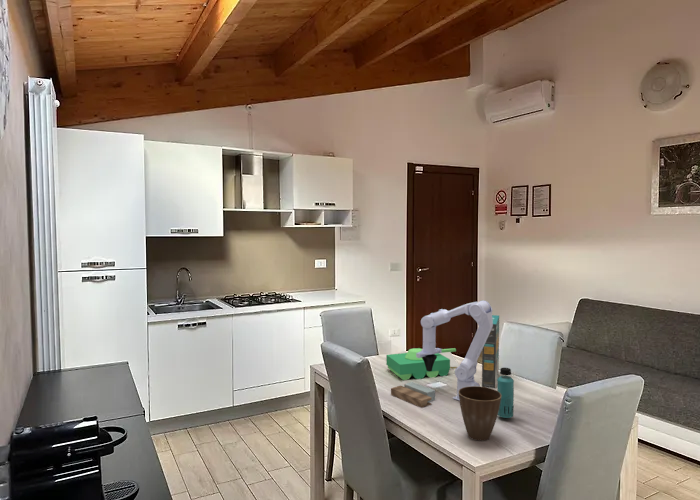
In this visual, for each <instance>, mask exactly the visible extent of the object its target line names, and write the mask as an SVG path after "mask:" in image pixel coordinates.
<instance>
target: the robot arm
mask: <svg viewBox="0 0 700 500" xmlns="http://www.w3.org/2000/svg"><path fill="white" fill-rule="evenodd" d="M493 311H494V310H493V308H492V306H491V304H490V303H489V301H487V300H483V299H482V300H479V301H473V302H469V303H466V304H465V303H464V304H462V305H460V306H457V307H454V308H452V309H450V310H447V309H445V308H444V309H443V308H441V309H438V311H435V312H431V313H430V314H428V315H424V316H423V317H422V318H420V319H421V320H420V325H421V327H422V348H421V349H422V351H420V352H418V353H416V357H417V358H421V357H422V359H423V361H424V363H425V366H426V370H427V371H429V372H430V371H432V368H433V364H434V362H435V360H436V358H437V356H436V355H435V354H437V353H442V349H443V348H439V347H436V345H437V343H436V341H437V340H436V339H437V338H436V336H437V333H436V330H437V327H438V326H440V325H443V324H445V323H448V322H450V321H451V318H454V317H456V316H460V315H464V314H465V315H467V316H470V317H472V318H473V319H474V321H475V322H476V323H477V325H478V327H477V329H476V332H475V334H474V337H473V338H472V341H471V343H470V346H469V348H468V350H467V352H466V355H465V357H464V358H463V359H462V361H461V362H460V363H459V365H460V366H458V367H457V368H454V375H455V378H456V380H457V381H456V385H457V386H456V395H455V396H452V399H453V400H456V401H459V402H460V400H459V390H460V389H461V388H464V387H470V386H479V387H481V386H480V383H479V382H477V381H476V380H475V375H476V373H477V366H478V364H479V363H478V359H479V357H480V355H481V354H482V349H483V347H484V344H485V342H486V340H487V338H488V336H489V334H490V331H491V329H492V327H493V321H492V315H493Z"/></svg>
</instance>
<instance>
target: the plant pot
mask: <svg viewBox="0 0 700 500" xmlns="http://www.w3.org/2000/svg"><path fill="white" fill-rule="evenodd" d="M459 400H460V401H459ZM459 400H458V401H459V406H460V411H461V417H462V420H463V423H464V426H465V430H466V433H467V435H468V437H469V438H470V439H472V440H474V441H481V442H482V441H488V440H489V439H490V438H491V435H492V433H493V431H494V428H495V425H496V422H497V418H498V411H499V407H500V401H501V393H500V392H498V391H497V390H496V389H495V388H488V387H482V386H480V387H479V386H470V387H464V388H461V389H460V390H459Z"/></svg>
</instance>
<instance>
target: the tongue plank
mask: <svg viewBox="0 0 700 500" xmlns="http://www.w3.org/2000/svg"><path fill="white" fill-rule="evenodd" d="M403 387H406V388H409V389H411V390H414V391H416V392H419V393H421V394H424V395H427V396H429V397H432V400H430V401H427V402H429V403H431V402H433V401H435V400H436V390H435V389H433V388H430V387H428V386H425V385H422V384H419V383H416V382H414V381H410V382H407V383H404V384H403Z"/></svg>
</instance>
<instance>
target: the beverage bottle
mask: <svg viewBox="0 0 700 500" xmlns="http://www.w3.org/2000/svg"><path fill="white" fill-rule="evenodd" d="M499 370H500V372H499V374H500V376H498V379H497V383H496V386H497V387H496V388H497V390H496V391H498V392H500V393H501V401H500V407H499V411H498V415H497V417H500V418H504V419H505V418H506V419H510V418H513V417H514V409H515V408H514V406H515V404H514V400H515V399H514V397H515V396H514V395H515V394H514V393H515V387H514V386H515V384H514V382H515V380H514V379H513V378H512V377H511V376H510V375H512V369H511V368H510V367H501V368H500V369H499Z"/></svg>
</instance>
